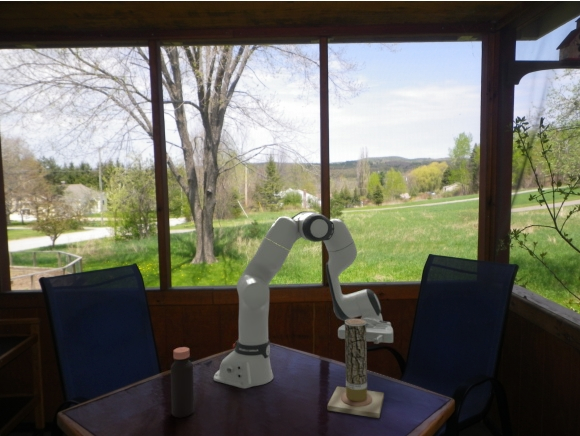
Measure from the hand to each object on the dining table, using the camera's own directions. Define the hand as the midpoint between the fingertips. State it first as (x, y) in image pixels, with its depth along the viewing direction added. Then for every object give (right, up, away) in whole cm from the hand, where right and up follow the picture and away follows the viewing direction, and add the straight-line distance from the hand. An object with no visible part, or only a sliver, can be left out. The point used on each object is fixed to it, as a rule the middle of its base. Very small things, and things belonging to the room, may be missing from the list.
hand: (362, 340), depth 141 cm
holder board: (-4, -17, -12) cm, 21 cm away
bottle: (-59, -18, -15) cm, 64 cm away
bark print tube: (-4, -15, -12) cm, 20 cm away
